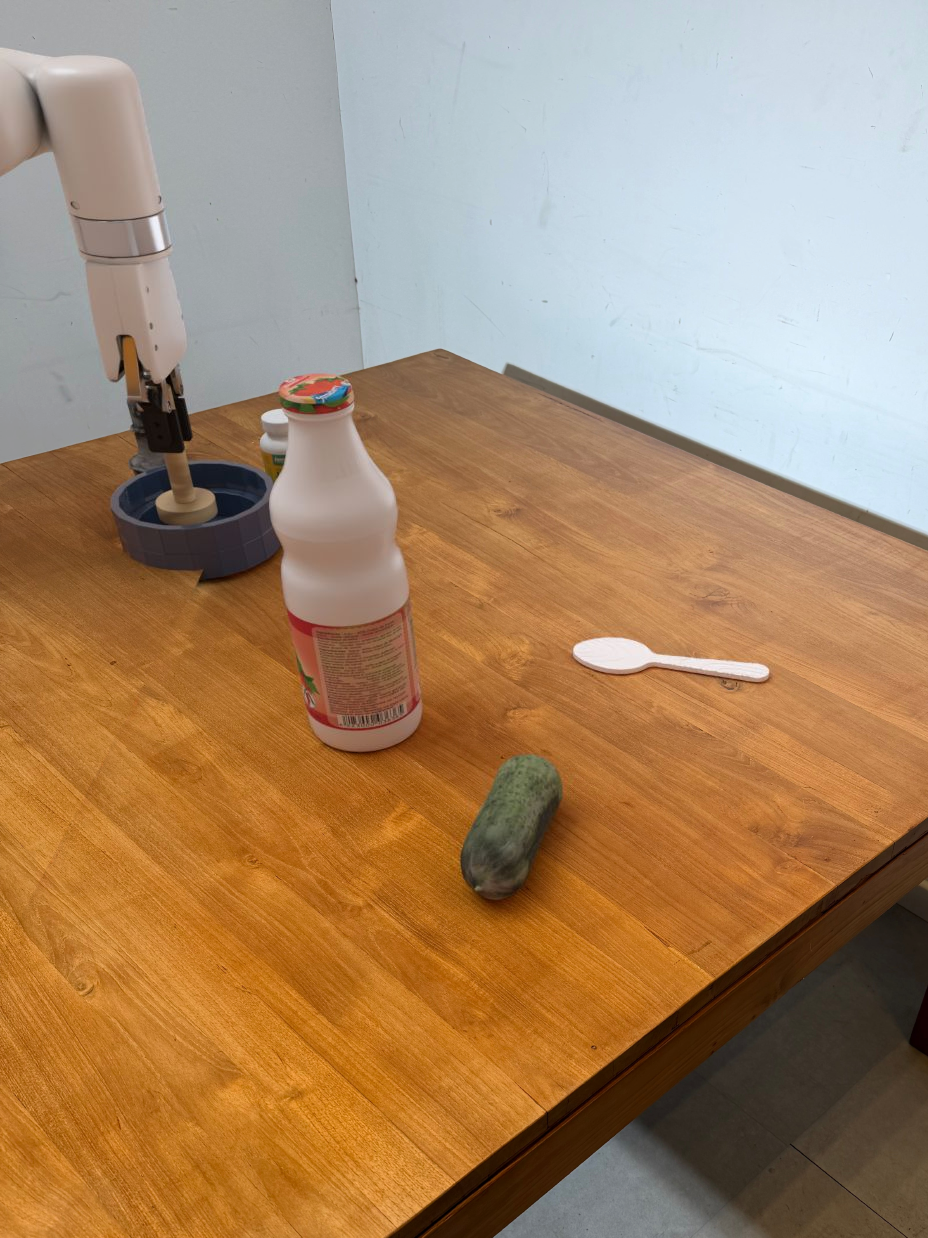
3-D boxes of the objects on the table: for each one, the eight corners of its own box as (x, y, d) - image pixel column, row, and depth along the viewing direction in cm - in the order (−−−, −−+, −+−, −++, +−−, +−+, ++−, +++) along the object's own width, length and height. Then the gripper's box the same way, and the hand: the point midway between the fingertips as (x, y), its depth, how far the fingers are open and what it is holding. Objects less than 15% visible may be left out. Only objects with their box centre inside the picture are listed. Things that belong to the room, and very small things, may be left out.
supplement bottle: (314, 487, 127) (300, 402, 121) (326, 507, 124) (312, 421, 117) (266, 495, 126) (249, 410, 119) (277, 515, 122) (260, 428, 116)
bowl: (106, 584, 110) (88, 527, 106) (152, 512, 122) (138, 458, 118) (266, 586, 111) (254, 530, 107) (297, 514, 122) (288, 461, 118)
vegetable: (506, 787, 89) (503, 736, 85) (569, 797, 88) (569, 746, 85) (446, 909, 78) (440, 857, 75) (517, 923, 78) (515, 870, 74)
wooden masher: (151, 525, 110) (118, 397, 102) (168, 500, 114) (137, 374, 106) (209, 527, 110) (181, 399, 102) (223, 501, 114) (197, 377, 106)
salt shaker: (126, 499, 124) (94, 389, 116) (154, 477, 128) (126, 369, 120) (174, 505, 123) (146, 395, 115) (201, 483, 127) (176, 376, 119)
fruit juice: (384, 767, 90) (332, 422, 71) (286, 736, 93) (212, 396, 74) (444, 706, 97) (412, 374, 78) (352, 678, 99) (299, 352, 81)
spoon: (766, 692, 99) (766, 687, 99) (566, 667, 101) (566, 662, 101) (771, 660, 103) (772, 655, 103) (579, 636, 105) (579, 631, 105)
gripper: (108, 208, 101) (156, 412, 113) (42, 258, 89) (104, 480, 101) (192, 212, 101) (232, 415, 114) (139, 262, 89) (189, 483, 102)
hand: (171, 444), depth 107 cm, fingers closed on wooden masher
